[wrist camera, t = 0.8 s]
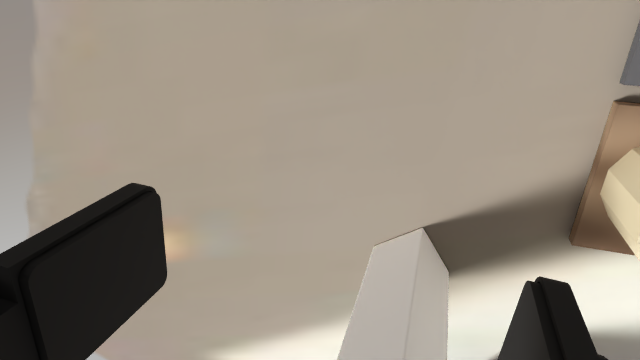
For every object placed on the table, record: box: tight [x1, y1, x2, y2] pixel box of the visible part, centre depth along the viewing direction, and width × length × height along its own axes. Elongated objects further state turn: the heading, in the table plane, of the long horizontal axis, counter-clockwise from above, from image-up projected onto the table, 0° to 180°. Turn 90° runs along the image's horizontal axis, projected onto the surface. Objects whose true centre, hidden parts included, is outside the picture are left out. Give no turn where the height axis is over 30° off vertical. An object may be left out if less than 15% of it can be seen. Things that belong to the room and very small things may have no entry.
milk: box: [337, 228, 449, 360], centre depth 35 cm, size 6×6×22 cm
